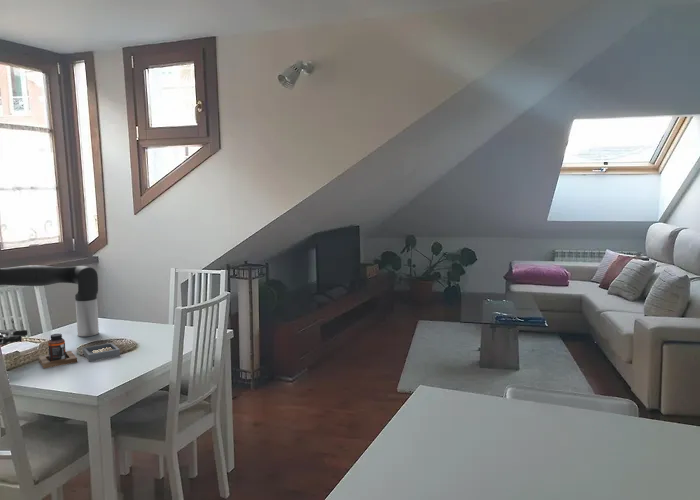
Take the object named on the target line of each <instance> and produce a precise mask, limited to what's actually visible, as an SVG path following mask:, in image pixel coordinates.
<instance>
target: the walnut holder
mask: <svg viewBox="0 0 700 500" xmlns="http://www.w3.org/2000/svg"><path fill="white" fill-rule="evenodd" d="M38 362H39V363H40V365H41V367H42V369H49V368H55V367H60V366H64V365H69V364H76V363H78V358H77V355H75V354H74V352H73V351H72V350H66V359H60V360H55V361H50V360H49V354H45V355H40V356H38Z"/></svg>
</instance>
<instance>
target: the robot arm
mask: <svg viewBox="0 0 700 500" xmlns="http://www.w3.org/2000/svg"><path fill="white" fill-rule="evenodd" d="M98 276H99V275H98V273H97V271H96V269H95V268H94V267H91V266H87V265H76V266H52V265H51V266H50V265H36V264H35V265H34V264H33V265H31V264H30V265H20V266H12V267H3V268H1V267H0V286H14V287H15V286H19V287H20V286H21V287H43V286H49V285H54V284H55V285H56V284H59V283H60V284H75V285H77V293H76V294H74V295H75V296H74V299H75V311H76V314H75V315H76V316H75V317H76V327H77V328H76V329H77V330H76V331H77V336H78V337H82V338H83V337H92V336H96V335H98V334H99V333H100V330H99V329H100V328H99V312H98V311H99V309H98V297H97V296H98V293H99V277H98ZM24 336H25V337H26V336H28V330H27V329H24V330H23V329H21V330H18V329H16V328H13V329H0V346H2V345H5V346H6V345H7V344H10V343H19V342H22V340H23V339H22V337H24Z"/></svg>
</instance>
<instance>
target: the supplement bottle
mask: <svg viewBox="0 0 700 500" xmlns="http://www.w3.org/2000/svg"><path fill="white" fill-rule="evenodd" d="M47 343H48V346H47V347H48V355H49V360H48V361H55V360H60V359H66V358H67V357H66V351H67V350H66V340H65V339H64V338H63V335H62V333H53V334H50V340H48V342H47Z"/></svg>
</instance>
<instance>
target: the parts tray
mask: <svg viewBox="0 0 700 500" xmlns="http://www.w3.org/2000/svg"><path fill="white" fill-rule="evenodd" d="M106 347H111V348H112V349H113V350H109V351H103V352H98V353H93V352H92V351H93V350H98V349H102V348H106ZM81 349H82V355H83V354H84V355H83V357H85V359H86V360H87V361H88V362H94V361H99V360H104V359H109V358H115V357H119V356H121V351H120V350H121V349H120V348H119V347H118V346H117V345H116V344H114V342H107V343H103V344H95V345H90V346H84V347H81Z"/></svg>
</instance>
